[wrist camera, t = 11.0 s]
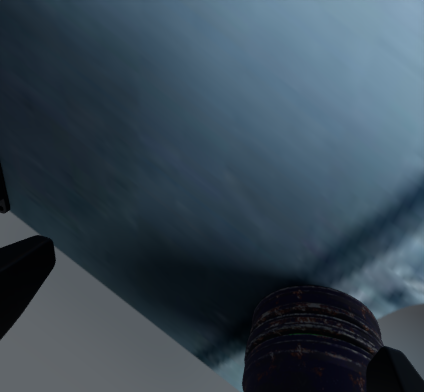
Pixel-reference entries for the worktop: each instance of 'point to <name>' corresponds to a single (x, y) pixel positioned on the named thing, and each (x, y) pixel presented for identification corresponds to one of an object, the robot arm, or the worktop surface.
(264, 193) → the worktop surface
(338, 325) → the dark purple barrel
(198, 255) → the worktop surface
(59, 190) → the worktop surface
